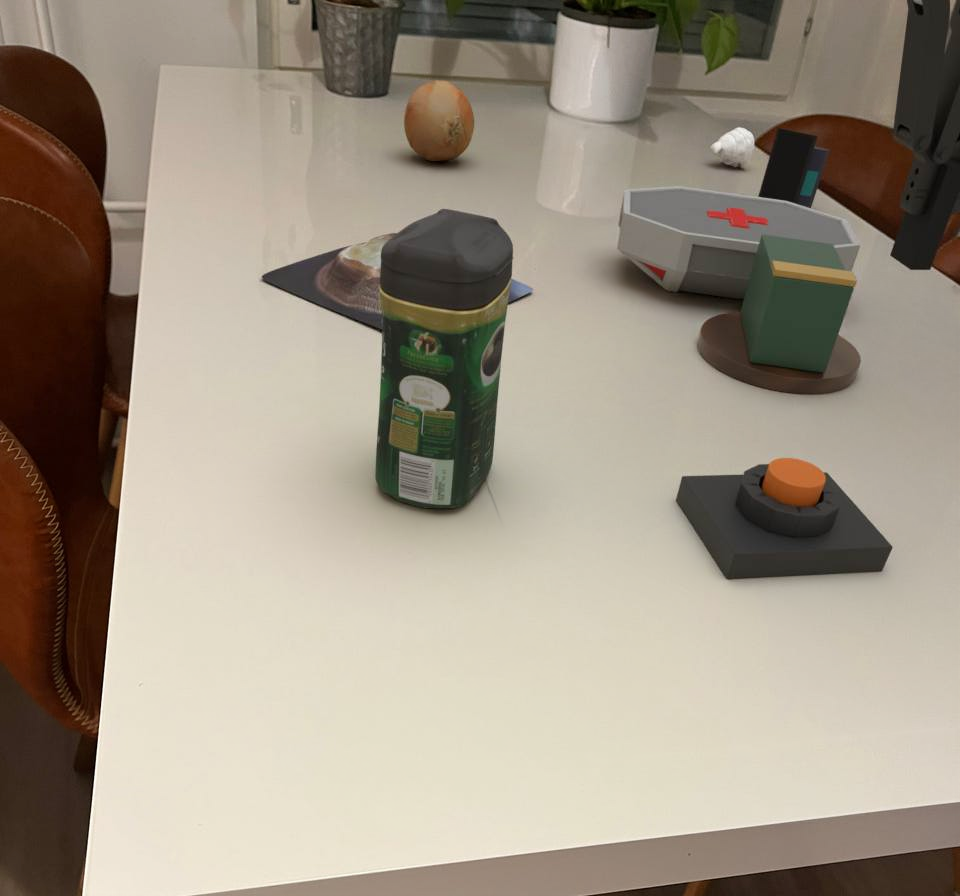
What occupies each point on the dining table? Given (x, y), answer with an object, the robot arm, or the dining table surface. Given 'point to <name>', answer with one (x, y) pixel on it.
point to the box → (795, 303)
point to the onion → (439, 121)
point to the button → (793, 482)
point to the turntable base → (730, 356)
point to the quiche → (348, 280)
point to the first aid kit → (716, 236)
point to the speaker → (794, 168)
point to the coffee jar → (441, 356)
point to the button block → (779, 529)
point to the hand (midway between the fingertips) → (909, 262)
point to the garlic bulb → (735, 147)
